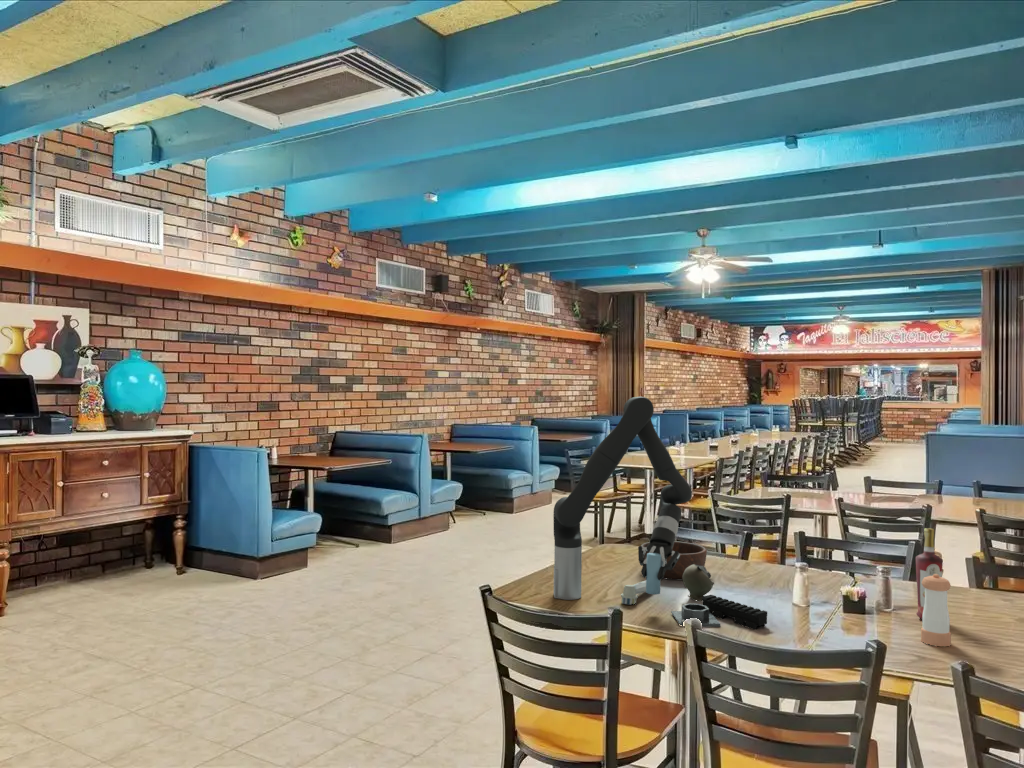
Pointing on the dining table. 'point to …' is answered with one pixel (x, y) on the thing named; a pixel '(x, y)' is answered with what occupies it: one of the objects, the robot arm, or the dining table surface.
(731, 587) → the dining table surface
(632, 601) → the grey handheld tool
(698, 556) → the wooden bowl
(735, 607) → the rail mount
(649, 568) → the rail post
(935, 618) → the salt shaker
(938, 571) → the liquor
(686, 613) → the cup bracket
